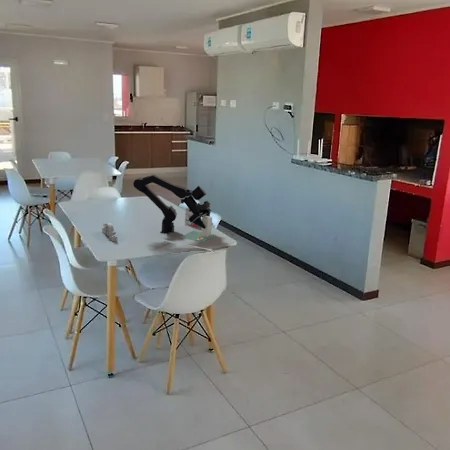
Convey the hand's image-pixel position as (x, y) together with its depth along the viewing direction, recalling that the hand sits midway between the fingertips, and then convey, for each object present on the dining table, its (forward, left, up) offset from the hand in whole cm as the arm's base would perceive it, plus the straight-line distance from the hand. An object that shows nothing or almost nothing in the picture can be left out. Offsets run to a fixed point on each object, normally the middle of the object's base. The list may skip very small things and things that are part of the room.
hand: (208, 226), depth 269 cm
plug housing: (-1, 0, -6) cm, 6 cm away
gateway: (-47, -31, -8) cm, 57 cm away
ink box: (-19, +17, -7) cm, 27 cm away
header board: (-5, -4, -7) cm, 9 cm away
